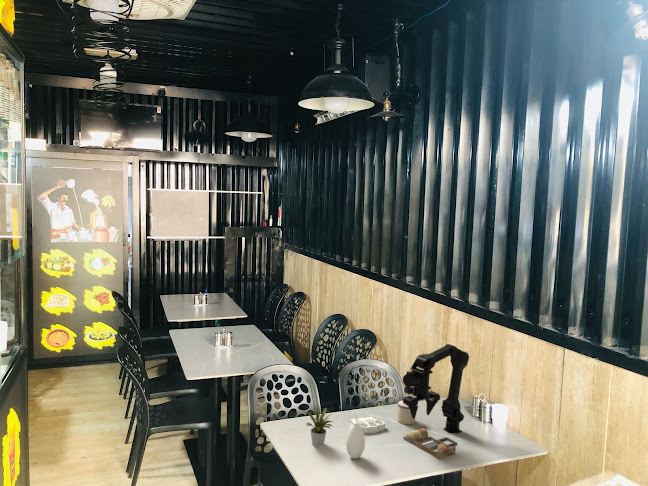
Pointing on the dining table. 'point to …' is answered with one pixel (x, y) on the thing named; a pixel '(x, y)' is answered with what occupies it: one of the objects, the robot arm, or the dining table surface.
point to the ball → (441, 447)
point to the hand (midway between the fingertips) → (420, 416)
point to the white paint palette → (369, 424)
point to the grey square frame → (448, 440)
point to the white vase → (355, 440)
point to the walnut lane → (439, 453)
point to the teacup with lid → (404, 414)
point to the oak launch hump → (417, 435)
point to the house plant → (318, 428)
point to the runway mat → (424, 442)
